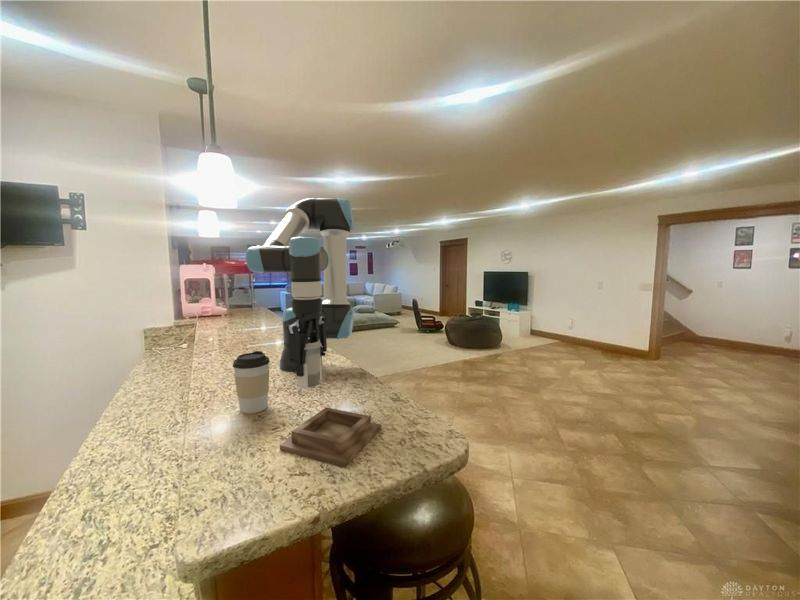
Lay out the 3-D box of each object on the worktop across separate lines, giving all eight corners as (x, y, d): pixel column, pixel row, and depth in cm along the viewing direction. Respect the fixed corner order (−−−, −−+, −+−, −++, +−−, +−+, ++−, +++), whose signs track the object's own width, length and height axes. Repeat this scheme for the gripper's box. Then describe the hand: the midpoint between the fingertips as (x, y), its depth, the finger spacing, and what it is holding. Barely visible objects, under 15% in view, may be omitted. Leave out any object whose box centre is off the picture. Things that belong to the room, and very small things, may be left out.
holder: (324, 416, 82) (324, 403, 82) (380, 428, 76) (380, 414, 76) (279, 449, 68) (279, 433, 67) (344, 467, 62) (344, 450, 61)
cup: (297, 380, 89) (295, 338, 87) (321, 377, 91) (320, 336, 89) (297, 390, 82) (295, 345, 80) (324, 387, 84) (322, 343, 82)
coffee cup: (258, 416, 82) (255, 360, 81) (227, 413, 84) (224, 358, 82) (278, 402, 91) (276, 350, 89) (250, 399, 93) (247, 349, 91)
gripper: (316, 293, 93) (319, 369, 96) (269, 301, 76) (274, 394, 79) (338, 294, 90) (340, 373, 93) (294, 303, 73) (298, 399, 77)
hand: (310, 382), depth 86 cm, fingers closed on cup, 5 cm apart
